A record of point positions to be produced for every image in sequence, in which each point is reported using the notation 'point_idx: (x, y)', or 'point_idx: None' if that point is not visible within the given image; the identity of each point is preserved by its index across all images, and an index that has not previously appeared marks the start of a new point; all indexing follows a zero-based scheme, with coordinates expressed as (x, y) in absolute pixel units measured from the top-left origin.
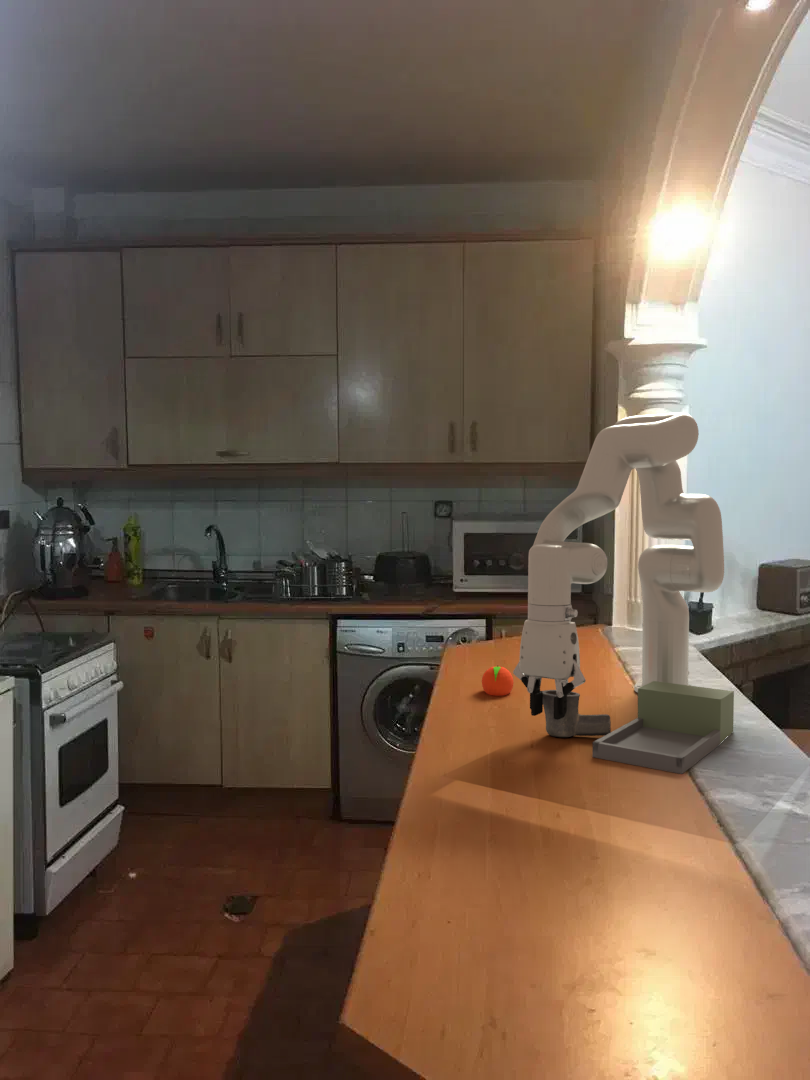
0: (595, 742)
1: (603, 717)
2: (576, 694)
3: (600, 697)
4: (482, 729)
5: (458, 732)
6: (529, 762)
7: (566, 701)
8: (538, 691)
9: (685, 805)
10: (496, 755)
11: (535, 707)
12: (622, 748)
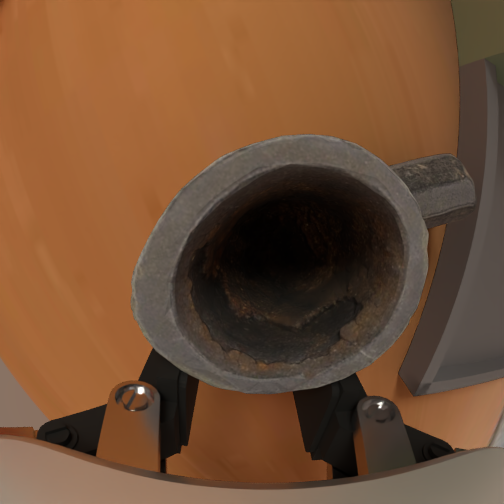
0: (419, 393)
1: (459, 214)
2: (415, 275)
3: None
4: (32, 275)
5: (18, 327)
6: (272, 454)
7: (361, 389)
8: (176, 421)
9: (478, 439)
10: (190, 447)
11: (195, 396)
12: (466, 385)
